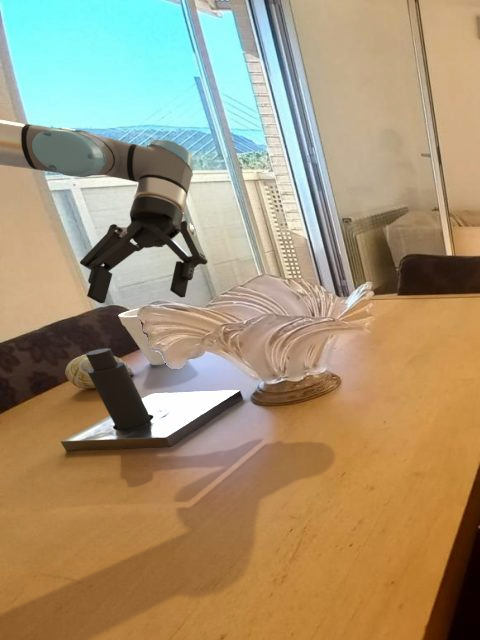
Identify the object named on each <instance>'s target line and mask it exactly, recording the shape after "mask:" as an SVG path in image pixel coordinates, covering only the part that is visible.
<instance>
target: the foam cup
mask: <svg viewBox="0 0 480 640" xmlns="http://www.w3.org/2000/svg"><path fill="white" fill-rule="evenodd" d="M138 309H139V308H135V309H130V310H127V311H124V312H121V313H120V314H118V319H119V320H120V322H121V325H122V326H123V327H124V328H125V329H126V330H127V332H128V333H129V335H130V336H131V338H132V339H133V341H134V342H135V344H136V345H137V346H138V348H139V350H140V351H141V353H142V354H143V355H144V357H145V358H146V360H147V361H148V363H149V364H150V365H151V366H159V365H166V364H165V363H164V360H163V358H162V355H161V354H160V353H159V352H155V351H151V350H150V349H149V347H148V337H147V335H146V334H144V333H143V331H142V324H141V321H140V320H139V318H138V316H137V311H138Z"/></svg>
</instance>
